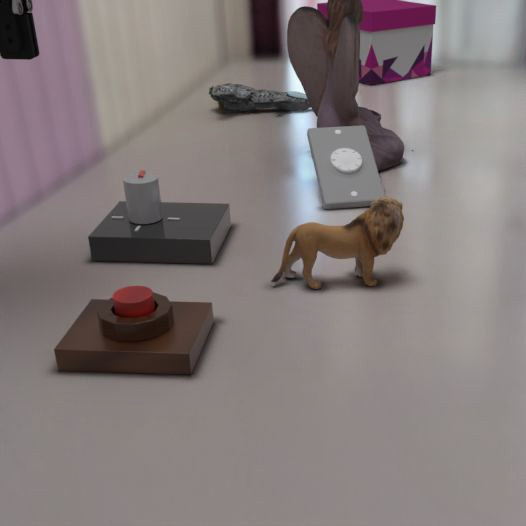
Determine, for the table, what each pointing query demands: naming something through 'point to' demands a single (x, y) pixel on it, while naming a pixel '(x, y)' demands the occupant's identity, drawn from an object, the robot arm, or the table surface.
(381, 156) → the figurine
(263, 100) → the jagged slate chunk
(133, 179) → the knob
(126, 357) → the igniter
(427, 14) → the decorative box
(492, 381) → the table surface
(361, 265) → the lion figurine
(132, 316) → the button
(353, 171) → the light switch
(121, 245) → the dark grey dial base
